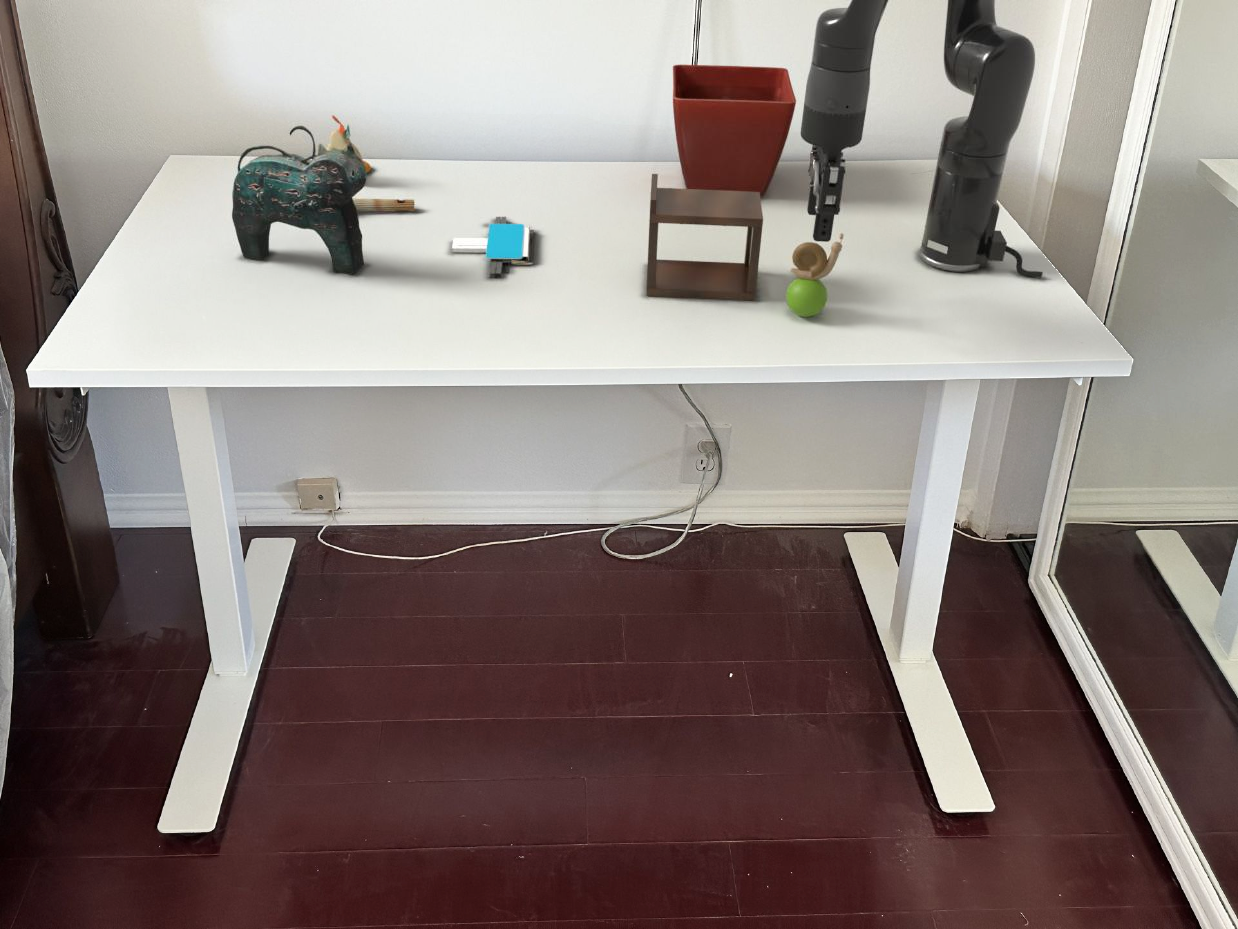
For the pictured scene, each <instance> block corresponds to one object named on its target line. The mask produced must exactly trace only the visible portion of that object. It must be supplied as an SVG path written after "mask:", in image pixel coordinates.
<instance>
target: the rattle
mask: <svg viewBox="0 0 1238 929" xmlns="http://www.w3.org/2000/svg"><path fill="white" fill-rule="evenodd" d="M331 118H332V119H333V121H335V123H337V124H339V128H337V129H335V130H334V131H332V133H331V134H330V142H329V143H328V145H327V146H326V148H325V149H326V150H327V151H333V150H343V149H344V148H345V147H346V146H347V145H348V144H349V143H351V145H352V146H353V148H354V151H355V153H356V155H357V156H358V157H359V158H360V159H361V160H362V161H363V163H364V165H365V167H366V174H367V173H369V172H370V171H371V170H372V166H371V165H370V163H369V162H367V161H366V160H363V157H362V154H361V152H360V151H359V149H358V148H357V147H356V145H355V144H353V143H352V141H351V139H350V138H351V130H350V125H349V123H346V129H345V126H344V125H343V124H342V122H340V120H339V119H338V118H337V116H335V115H331Z"/></svg>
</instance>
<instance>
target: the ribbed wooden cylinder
mask: <svg viewBox="0 0 1238 929" xmlns="http://www.w3.org/2000/svg"><path fill="white" fill-rule="evenodd" d="M352 199H353V202H354V204H355V206H356V209H357V211H372V212H373V211H375V212H377V211H379V212H381V211H382V212H383V211H384V212H385V211H386V212H399V211H403V212H415V199H403V200H402V199H399V198H398V199H395V198H359V197H357V198H356V197H355V198H354V197H352Z"/></svg>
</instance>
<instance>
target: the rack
mask: <svg viewBox="0 0 1238 929" xmlns="http://www.w3.org/2000/svg"><path fill="white" fill-rule="evenodd" d="M658 176H659V174H658V173H651V186H650V198H649V199H650V200H649V202H650V203H649V220H648V221H649V222H648V224H649V226H648V242H647V243H648V246H647V266H646V267H647V271H646V272H647V274H646V289H645V290H646V293H645V295H646V297H662V298H683V299H684V298H685V299H687V298H688V299H710V300H731V301H752V302H753V301H756V293H757V284H758V274H759V263H760V255H761V254H760V253H761V244H762V236H763V225H764V216H763V208H762V201H761V196H760V193H759V192H748V191H724V190H700V189H686V188H674V187H658V179H659V178H658ZM659 224H673V225H694V226H695V225H696V226H697V225H698V226H719V227H720V226H721V227H743V228H744V227H745V228H747V229H746V238H745V249H744V261H743V262H724V261H721V262H720V261H702V260H701V261H700V260H681V259H679V260H677V259H658V242H659V241H658V238H659Z"/></svg>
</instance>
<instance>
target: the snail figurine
mask: <svg viewBox="0 0 1238 929" xmlns="http://www.w3.org/2000/svg"><path fill="white" fill-rule="evenodd" d="M838 238H839V240H840V242H839V241H834V242H833V243H832V244H831V245H830V253H829V256H828V255H827V252H826V251H825V249H824V248H823V246H821V245H820V244H818V243H816V242H812V241H806V242H803V243H800V244H799V245H798V246H797V247H795V249H794V250H793V253H792V257H791V259H792V264H793V265H794V266H795V268H794V267H791V268H790V271H791V272H792V274H793V275H794V276H795V277H796V279H794V280H792V282H791V283H790V284H789V286H788V287H787V290H786V295H785V298H786V299H785V300H786V303H787V306H788V308H789V310H791V312H792V313H794V314H795V315H797V316H799V317H803V318H808V317H813V316H816V315H818V314H819V313H820V312H821V311H822V310H824V308H825V306H826V304H827V301H828V290H827V288H826V286H825V284H824V282H822V281H821V279H823V278H825V277H827V276H828V275H829V274H831V272H832V271H833V269H834V268H835V265H836V264H837V261H838V258H839V256H840V252H841V251H842V248H843V244H842V240H843V239H844V233H839V237H838Z"/></svg>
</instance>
